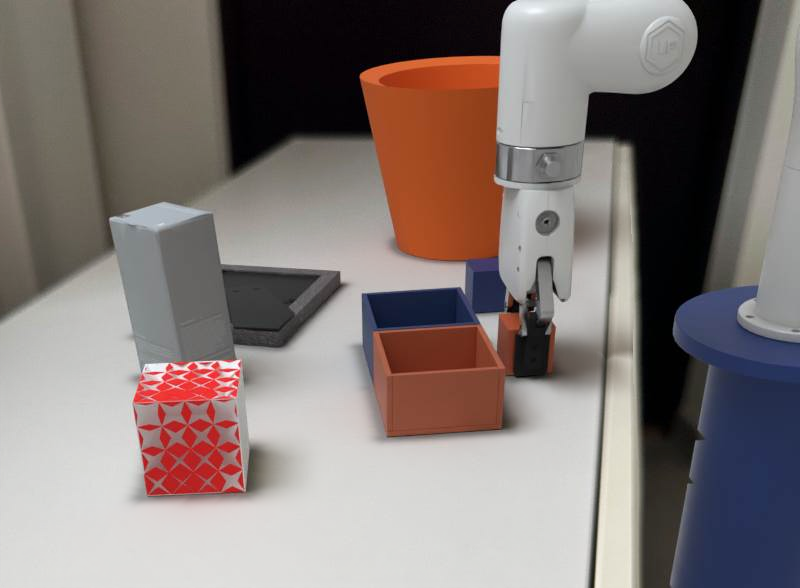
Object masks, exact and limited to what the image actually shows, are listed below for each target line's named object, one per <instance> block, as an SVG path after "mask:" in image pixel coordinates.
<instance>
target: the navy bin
mask: <svg viewBox="0 0 800 588" xmlns="http://www.w3.org/2000/svg"><path fill="white" fill-rule="evenodd" d="M479 324H481V325H482V323H481V322H480V320H479V318H478V316H477V313H475V312H474V311H473V309H472V307H471V305H470V303H469V301H468V300H467V298H466V296H465V291H464V290H463V288H462V287H461V286H456V287H453V286H452V287H437V288H421V289H407V290H393V291H392V290H391V291H390V290H389V291H380V292H379V291H378V292H363V293H361V333H362V334H361V335H362V338H361V339H362V350H363V353H364V357H365V362H366V364H367V368H368V372H369V375H370V379H371V383H372V386H373V388H374V367H373V331H378V332H379V331H388V330H403V329H418V328H434V327H449V326H464V325H479Z"/></svg>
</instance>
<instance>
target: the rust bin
mask: <svg viewBox="0 0 800 588" xmlns="http://www.w3.org/2000/svg"><path fill="white" fill-rule="evenodd" d="M373 367H374V387H373V391H374V394H375V398H376V401H377V405H378V408H379V412H380V417H381V420H382V423H383V427H384V431H385V435H386V437H387V438H389V437H401V436H402V437H403V436H416V435H417V436H419V435H430V434H432V435H433V434H434V435H435V434H446V433H447V434H448V433H461V432H476V431H490V430H491V431H492V430H502V429H503V428H502V427H503V416H504V415H503V413H504V396H505V382H506V375H505V367H504V365H503V363H502V361H501V360H500V358H499V356H498V354H497V349H495V347H494V345H493V343H492V341H491V339H490V338H489V336H488V334H487V332H486V331H485V328H484V327H483V325H482V323H481V324H479V325H464V326H449V327H434V328H418V329H403V330H388V331H379V332H378V331H373Z"/></svg>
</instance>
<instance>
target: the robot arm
mask: <svg viewBox="0 0 800 588" xmlns="http://www.w3.org/2000/svg"><path fill="white" fill-rule="evenodd" d="M698 36H699V35H698V25H697V20H696V18H695V16H694V14H693V12H692V9H690V7H689V5H688V4H686V2H685V1H684V0H515V1H512V2H511V3H510V4H509V5H508V6H507V7H506V9H505V11H504V13H503V17H502V20H501V30H500V50H499V51H500V52H499V56H500V70H499V91H498V111H497V132H496V152H495V172H494V181H495V183H496V184H498V185H502V186H504V191H503V195H502V197H503V201H502V212H501V225H500V239H499V256H498V258H499V273H500V277H501V279H502V281H503V282H504V284H505V286H506V296H505V306H504V307H505V311H504V314H505V313H519V333H515V347H514V362H513V373H514V374H515V375H514V376H516V377H526V376H527V377H528V376H542V375H545V374H548V373H547V370H548V359H549V347H550V336H551V321H552V322H553V318H554V316H555V304H554V303H555V301H554V295H555V297H556V298H557V299H558V300H559V301H560V302H561V303H566V302H568V301H569V299H570V298H571V296H572V286H573V285H572V284H573V282H572V281H573V267H574V265H573V263H574V249H575V211H576V210H575V189H574V186H575V185H577V184H579V183H580V182H581V180H582V170H583V161H584V160H583V159H584V149H585V136H586V127H587V126H586V125H587V118H588V110H589V109H588V107H589V99H590V98H589V97H590V95H591V94H593V93H611V94H613V93H614V94H626V95H627V94H628V95H642V94H649V93H654V92H657V91H659V90H662V89H663V88H665V87H668V86H669V85H670V84H672V83H673V82H675V81H676V80H677V79H678V78H679V77H680V76H681V75H682V74H683V73H684V72H685V70H686V69H687V68H688V66H689V65H690V63H691V61H692V59H693V57H694V55H695V52H696V49H697V45H698ZM793 93H794V95H793V105H792V113H791V121H790V127H789V132H788V136H787V137H788V138H787V144H786V149H785V154H784V159H783V162H782V167H781V172H780V178H779V182H778V187H777V192H776V196H775V202H774V206H773V212H772V217H771V222H770V227H769V232H768V237H767V242H766V248H765V252H764V258H763V263H762V267H761V273H760V277H759V282H758V285H759V287H758V292H757V297H756V298H753V299H750V300H748V301H746V302H744V303H743V304H742V305H741V306H740V307H739V309H738V314H737V321H738V323H739V324H740V325H741V326H742V327H743V328H744V329H746V330H748V331H749V332H752V333H754V334H756V335H759V336H762V337H765V338H769V339H773V340H778V341H784V342H790V343H800V24H799V26H798V28H797V34H796V41H795V51H794V92H793ZM528 312H531V313H530V316H529V318H528Z"/></svg>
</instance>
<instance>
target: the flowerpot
mask: <svg viewBox="0 0 800 588" xmlns="http://www.w3.org/2000/svg"><path fill="white" fill-rule="evenodd" d="M499 70H500V55H470V56H469V55H468V56H467V55H466V56H447V57H446V56H445V57H433V58H421V59H413V60H405V61H404V60H403V61H398V62H393V63H388V64H383V65H382V64H381V65H379V66H375V67H372V68H369V69H366V70H365V71H363V72H361V73H360V74H359V80H360V85H361V89H362V94H363V98H364V102H365V107H366V111H367V116H368V121H369V126H370V129H371V134H372V139H373V143H374V147H375V152H376V157H377V160H378V165H379V170H380V175H381V179H382V183H383V184H382V185H383V188H384V193H385V197H386V202H387V206H388V210H389V214H390V219H391V224H392V228H393V232H394V237H395V241H396V245H397V247H398V249H399V250H401V251H402V252H404V253H406V254H407V255H410V256H413V257H418V258H423V259H428V260H438V261H466V260H468V259H483V258H497V257H499V239H500V225H501V212H502V201H503V197H502V195H503V191H504V186H502V185H498V184H496V183H495V181H494V172H495V152H496V132H497V111H498V91H499Z"/></svg>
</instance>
